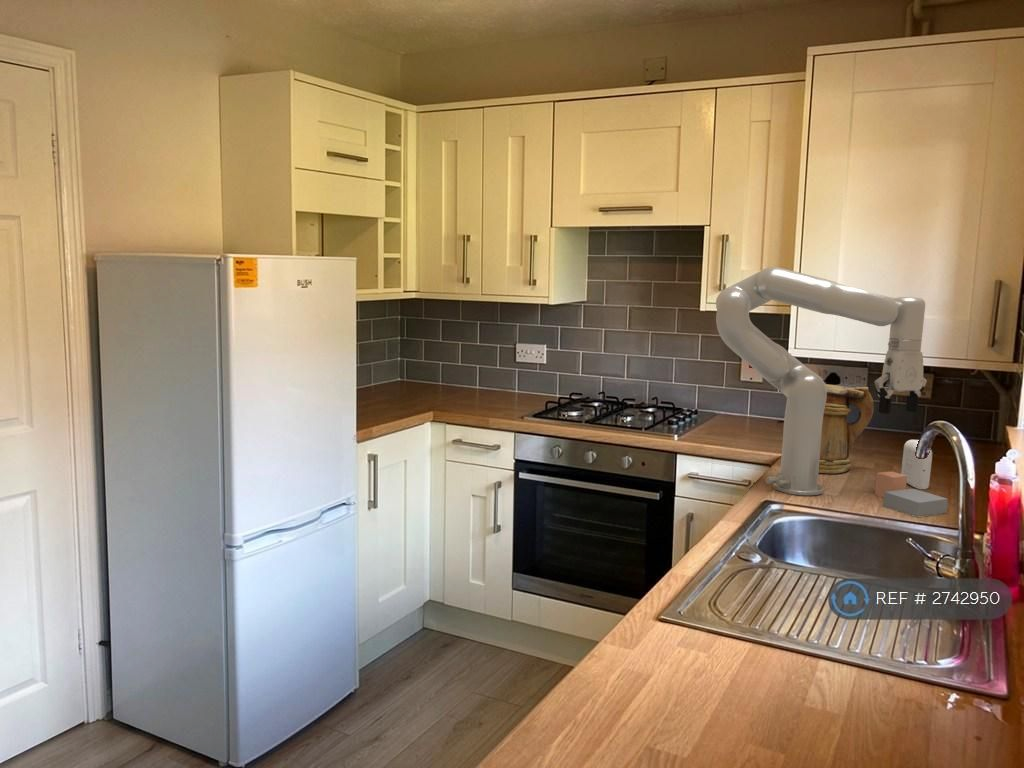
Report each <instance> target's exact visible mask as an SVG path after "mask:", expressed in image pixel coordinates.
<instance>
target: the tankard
mask: <svg viewBox="0 0 1024 768" xmlns="http://www.w3.org/2000/svg"><path fill="white" fill-rule="evenodd" d="M825 385H826V390H827V398H826V404H825V409H824V415H823V423H822V435H821V447H820V459H819V471H818V474H827V475H828V474H829V475H831V474H835V475H838V474H843V473H846V472H847V471H849V469H850V468H851V467H852V463H851V461H852V460H851V456H850V452H851V448H852V446H853V443H854V442H855V440H856V439H857V438H858V437H859V435H860V434H862V432H864V430H865V429H866V428H867V426H868V425H869V423H870V422H871V420H872V418H873V414H874V410H875V409H874V408H875V407H874V399H873V397H872V395H871V393H870V391H869V387H867V386H861V387H859V386H857V387H850V386H843V385H836V384H829V383H828V384H827V383H825ZM851 405H852V406H853V407H856V408H857V409H858V411H859V412H858V415H859V416H858V418H857V419H856V420H855V421H853V422H848V420H847V418H848V417H847V416H848V415H849V414H851V413H852V412H853V410H852V409H851V408H850V406H851Z"/></svg>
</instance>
